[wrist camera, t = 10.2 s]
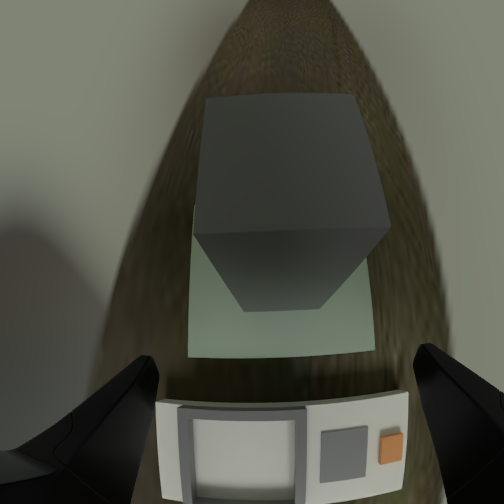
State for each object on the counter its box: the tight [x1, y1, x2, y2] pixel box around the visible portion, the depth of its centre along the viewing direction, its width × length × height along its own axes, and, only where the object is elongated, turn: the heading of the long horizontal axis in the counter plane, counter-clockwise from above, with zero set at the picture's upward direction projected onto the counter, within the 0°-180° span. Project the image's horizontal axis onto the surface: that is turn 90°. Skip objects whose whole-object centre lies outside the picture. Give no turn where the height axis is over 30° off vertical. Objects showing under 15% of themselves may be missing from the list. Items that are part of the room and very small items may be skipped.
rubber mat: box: [188, 205, 375, 358], centre depth 17 cm, size 9×10×1 cm
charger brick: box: [193, 93, 391, 312], centre depth 11 cm, size 4×4×10 cm
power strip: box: [156, 390, 408, 504], centre depth 12 cm, size 6×13×2 cm, turn 91°
